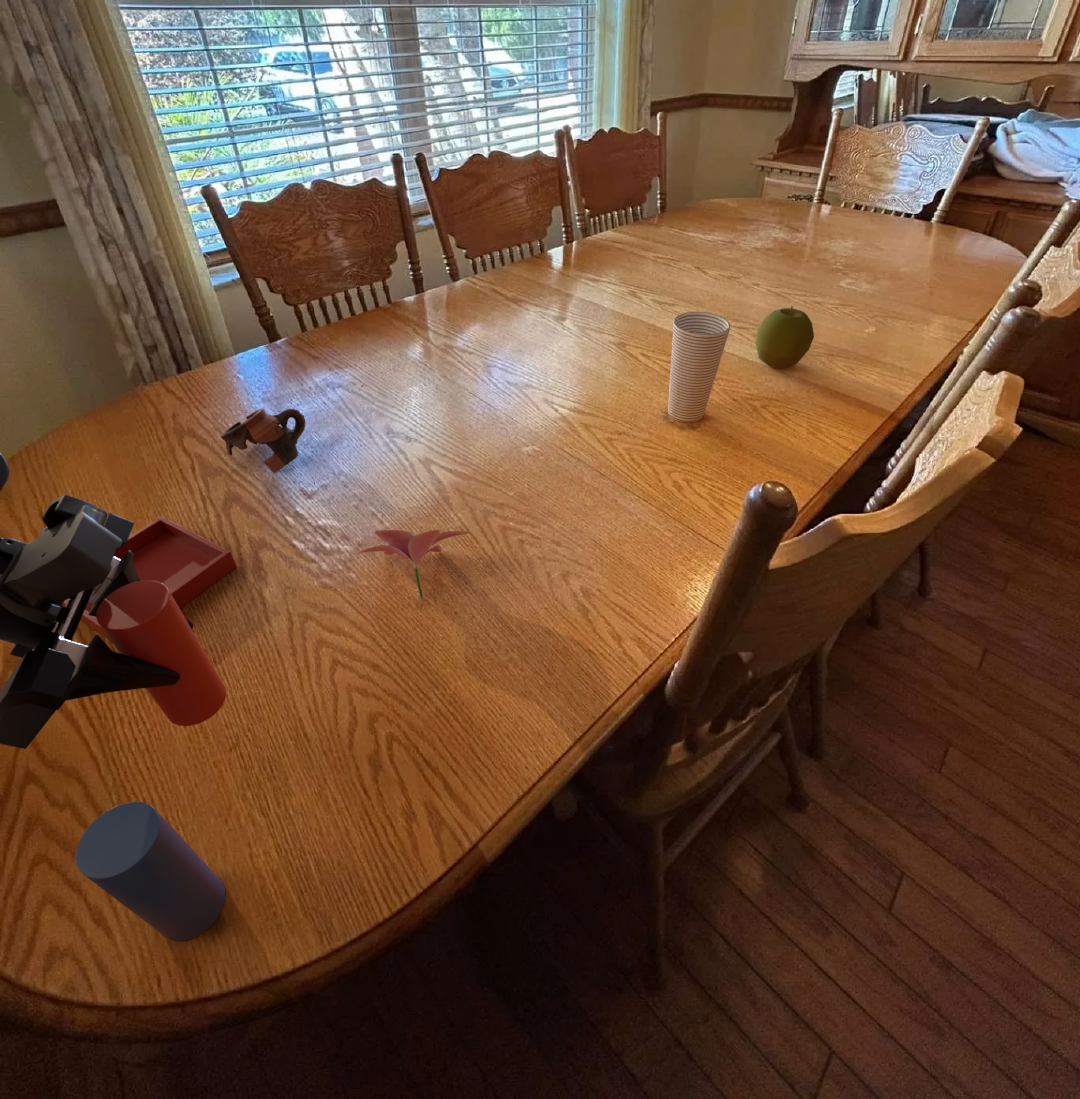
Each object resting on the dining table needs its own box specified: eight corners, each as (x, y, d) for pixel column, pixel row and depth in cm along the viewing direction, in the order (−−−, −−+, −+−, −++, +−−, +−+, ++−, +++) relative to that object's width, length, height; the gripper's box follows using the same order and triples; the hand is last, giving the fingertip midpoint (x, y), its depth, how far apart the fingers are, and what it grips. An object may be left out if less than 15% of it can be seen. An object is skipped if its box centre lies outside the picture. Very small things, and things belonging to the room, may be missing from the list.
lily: (487, 572, 79) (470, 498, 77) (446, 609, 69) (425, 524, 66) (405, 579, 84) (387, 510, 81) (355, 615, 73) (332, 536, 70)
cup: (716, 427, 102) (736, 335, 92) (663, 427, 102) (678, 335, 92) (705, 400, 108) (723, 311, 98) (656, 400, 108) (669, 311, 98)
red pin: (176, 737, 54) (105, 640, 45) (158, 698, 57) (88, 600, 48) (234, 704, 56) (178, 607, 47) (215, 669, 59) (158, 570, 50)
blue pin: (167, 956, 48) (82, 896, 39) (151, 899, 51) (68, 831, 42) (233, 912, 50) (168, 845, 41) (214, 860, 53) (149, 787, 44)
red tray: (124, 650, 69) (113, 635, 67) (55, 604, 74) (43, 589, 72) (237, 566, 79) (230, 551, 77) (169, 530, 83) (161, 515, 82)
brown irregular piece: (259, 487, 91) (218, 440, 87) (250, 481, 99) (212, 438, 95) (326, 438, 95) (290, 391, 91) (312, 436, 103) (278, 393, 99)
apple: (795, 381, 113) (813, 321, 106) (743, 367, 117) (757, 309, 110) (810, 359, 120) (828, 301, 112) (759, 347, 123) (773, 290, 116)
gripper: (-80, 613, 33) (215, 697, 42) (47, 425, 46) (250, 520, 56) (-142, 720, 37) (139, 776, 46) (-8, 520, 51) (189, 594, 60)
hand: (184, 653), depth 52 cm, fingers closed on red pin, 5 cm apart
